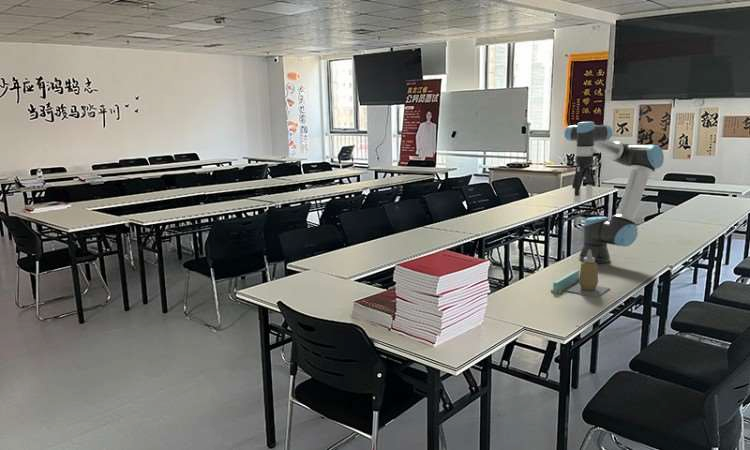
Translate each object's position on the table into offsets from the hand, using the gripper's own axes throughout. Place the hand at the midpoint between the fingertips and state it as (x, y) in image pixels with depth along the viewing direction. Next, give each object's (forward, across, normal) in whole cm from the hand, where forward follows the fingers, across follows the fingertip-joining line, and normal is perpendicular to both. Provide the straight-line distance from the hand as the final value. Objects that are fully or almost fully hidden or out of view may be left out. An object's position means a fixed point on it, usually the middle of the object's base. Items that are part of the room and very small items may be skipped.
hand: (583, 200), depth 263 cm
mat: (+37, -21, -12) cm, 44 cm away
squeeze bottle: (+36, -21, -12) cm, 44 cm away
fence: (+37, -21, -2) cm, 42 cm away
